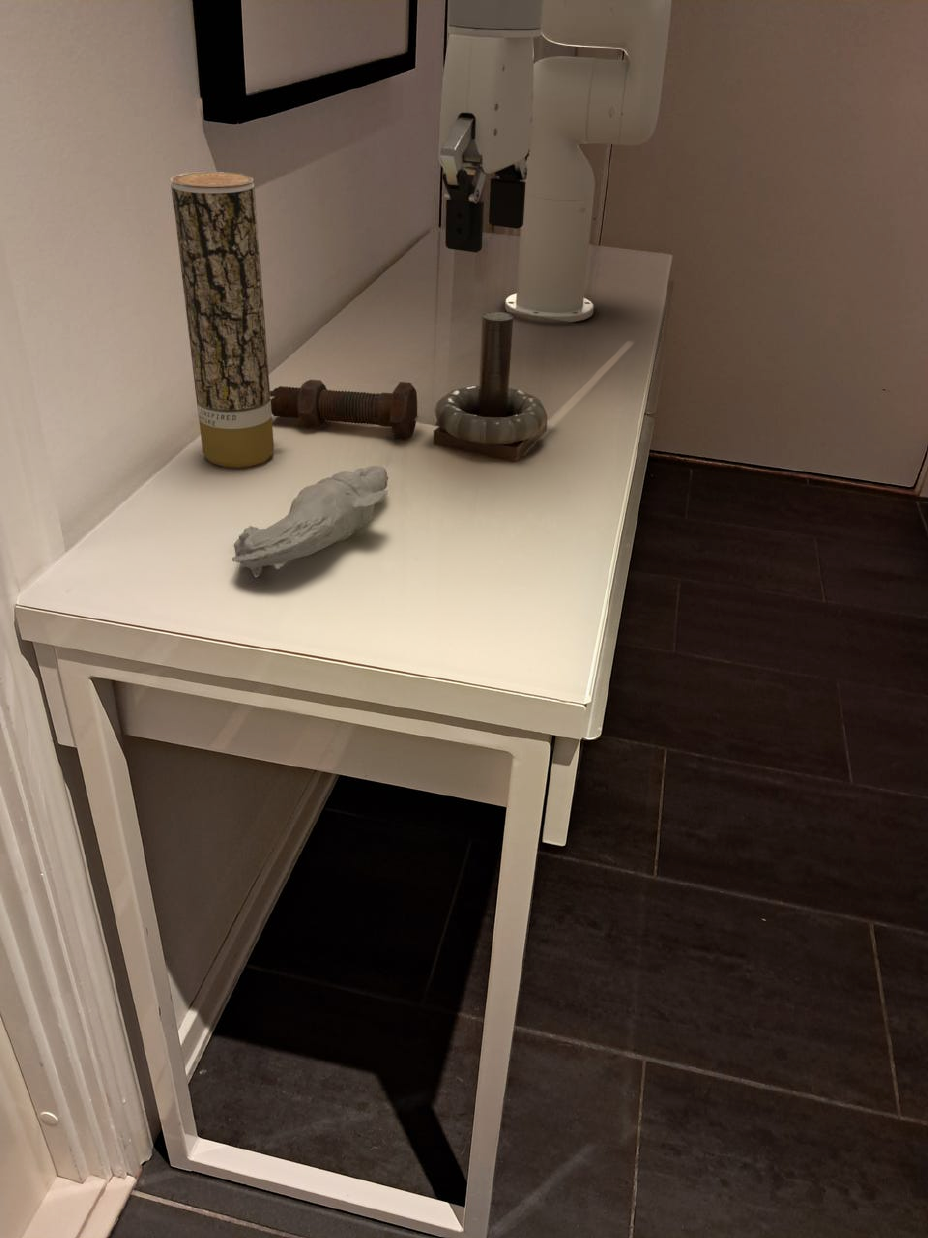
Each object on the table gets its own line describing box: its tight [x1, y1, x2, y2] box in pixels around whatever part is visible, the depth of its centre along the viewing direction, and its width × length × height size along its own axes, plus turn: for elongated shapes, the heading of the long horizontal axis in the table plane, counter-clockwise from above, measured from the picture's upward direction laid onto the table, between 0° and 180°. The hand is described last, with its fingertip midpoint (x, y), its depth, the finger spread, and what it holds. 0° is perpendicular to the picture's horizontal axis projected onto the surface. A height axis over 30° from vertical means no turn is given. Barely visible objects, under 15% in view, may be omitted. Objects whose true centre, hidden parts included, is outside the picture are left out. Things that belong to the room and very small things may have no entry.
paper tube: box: [170, 171, 275, 468], centre depth 90 cm, size 7×7×25 cm
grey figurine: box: [231, 465, 389, 578], centre depth 83 cm, size 5×12×20 cm
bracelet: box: [434, 385, 548, 444], centre depth 101 cm, size 11×11×3 cm
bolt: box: [270, 379, 418, 441], centre depth 102 cm, size 6×5×15 cm
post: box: [433, 311, 549, 463], centre depth 99 cm, size 9×9×12 cm
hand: (485, 237), depth 88 cm, fingers open, 9 cm apart
